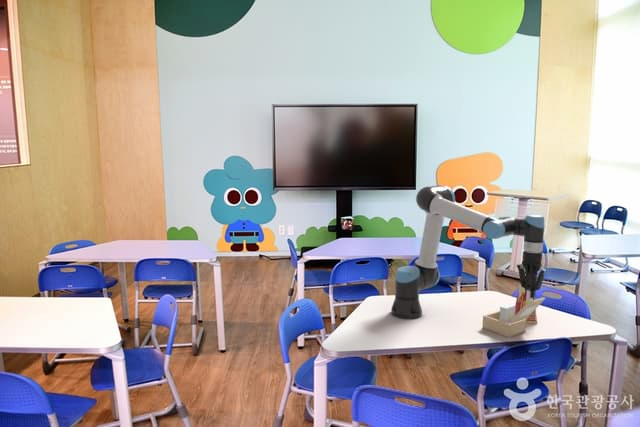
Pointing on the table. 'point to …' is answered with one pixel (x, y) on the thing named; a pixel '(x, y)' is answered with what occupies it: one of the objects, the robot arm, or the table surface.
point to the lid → (527, 310)
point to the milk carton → (520, 304)
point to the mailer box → (504, 322)
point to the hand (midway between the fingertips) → (529, 304)
